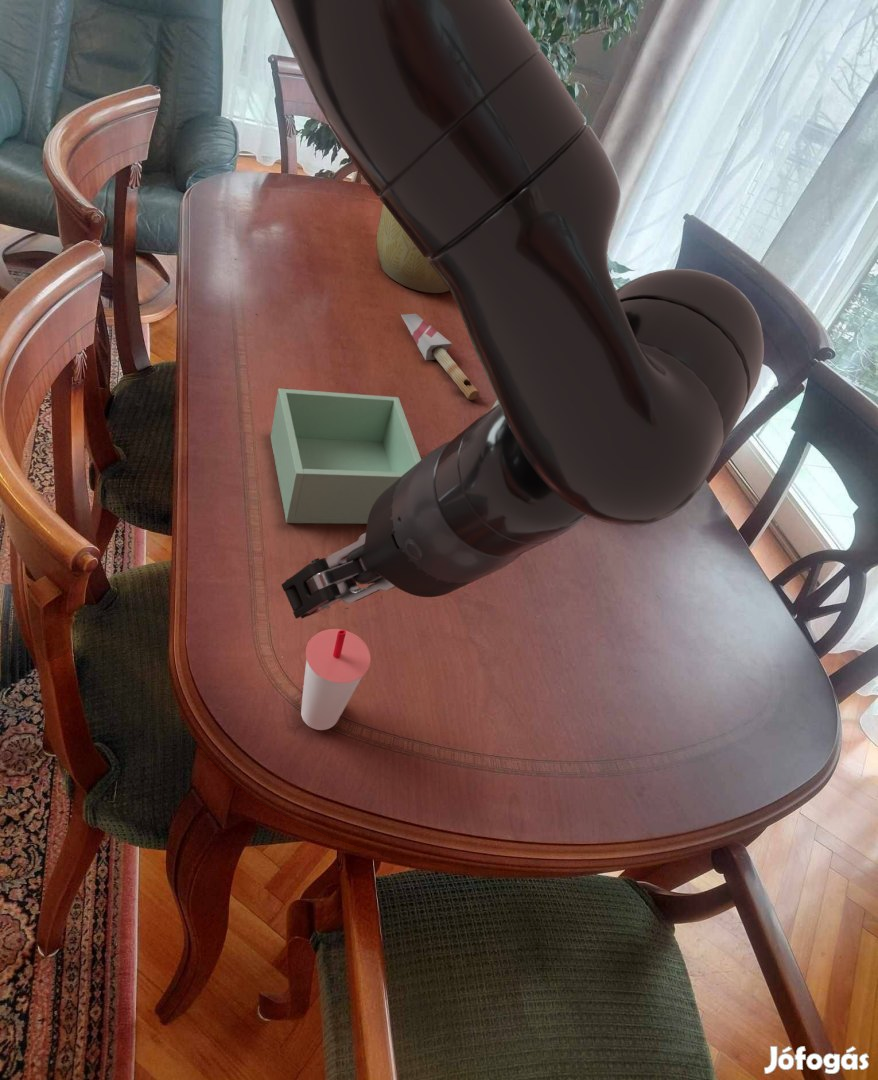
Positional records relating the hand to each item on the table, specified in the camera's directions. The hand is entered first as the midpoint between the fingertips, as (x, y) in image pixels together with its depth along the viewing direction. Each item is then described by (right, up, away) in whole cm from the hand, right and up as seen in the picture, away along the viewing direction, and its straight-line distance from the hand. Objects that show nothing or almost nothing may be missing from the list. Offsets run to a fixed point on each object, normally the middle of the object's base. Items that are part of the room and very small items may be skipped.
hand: (355, 581), depth 59 cm
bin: (-6, +10, +34) cm, 36 cm away
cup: (-4, -13, +12) cm, 18 cm away
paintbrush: (+6, +30, +59) cm, 67 cm away
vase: (+3, +49, +78) cm, 92 cm away
